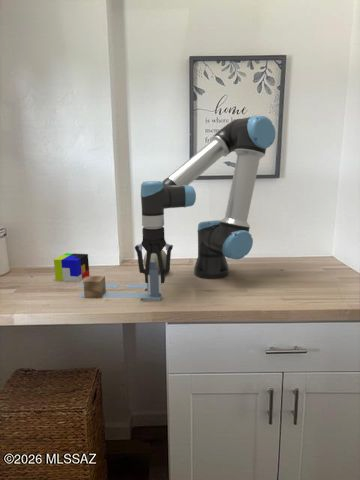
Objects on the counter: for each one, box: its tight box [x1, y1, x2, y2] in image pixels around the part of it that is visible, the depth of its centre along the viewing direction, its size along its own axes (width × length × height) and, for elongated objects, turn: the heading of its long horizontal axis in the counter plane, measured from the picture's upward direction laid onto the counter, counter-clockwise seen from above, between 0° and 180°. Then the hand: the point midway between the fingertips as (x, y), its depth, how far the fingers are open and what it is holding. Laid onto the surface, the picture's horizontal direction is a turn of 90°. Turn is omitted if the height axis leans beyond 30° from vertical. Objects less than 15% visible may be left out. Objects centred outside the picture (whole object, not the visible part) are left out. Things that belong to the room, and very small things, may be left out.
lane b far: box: [78, 282, 121, 289], centre depth 137 cm, size 15×5×1 cm, turn 85°
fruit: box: [143, 249, 167, 271], centre depth 152 cm, size 10×12×15 cm
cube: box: [82, 275, 107, 299], centre depth 127 cm, size 6×6×6 cm
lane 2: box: [124, 260, 156, 292], centre depth 134 cm, size 12×5×11 cm, turn 85°
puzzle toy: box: [53, 252, 91, 283], centre depth 146 cm, size 10×10×10 cm
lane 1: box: [76, 267, 163, 302], centre depth 126 cm, size 30×5×11 cm, turn 85°
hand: (155, 291), depth 125 cm, fingers closed on lane 1, 3 cm apart
